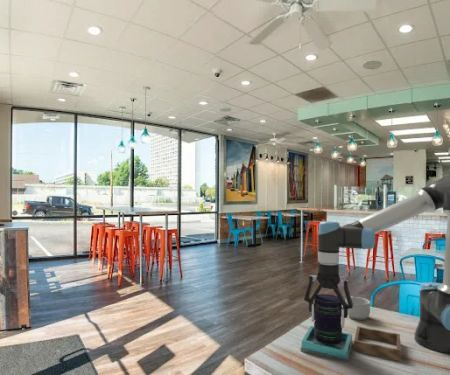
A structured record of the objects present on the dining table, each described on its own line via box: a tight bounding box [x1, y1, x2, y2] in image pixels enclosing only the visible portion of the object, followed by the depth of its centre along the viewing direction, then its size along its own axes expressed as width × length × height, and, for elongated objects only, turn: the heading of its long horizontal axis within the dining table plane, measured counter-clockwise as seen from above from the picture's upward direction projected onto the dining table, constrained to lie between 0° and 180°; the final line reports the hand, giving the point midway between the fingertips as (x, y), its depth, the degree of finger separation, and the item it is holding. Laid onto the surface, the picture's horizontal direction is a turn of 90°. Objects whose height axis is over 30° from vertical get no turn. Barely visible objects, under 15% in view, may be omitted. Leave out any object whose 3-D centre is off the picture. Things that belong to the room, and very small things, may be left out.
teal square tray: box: [300, 325, 354, 363], centre depth 116 cm, size 16×16×4 cm
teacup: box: [344, 295, 371, 321], centre depth 148 cm, size 14×11×8 cm
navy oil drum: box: [313, 293, 343, 345], centre depth 117 cm, size 10×10×15 cm
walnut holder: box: [353, 325, 402, 362], centre depth 117 cm, size 15×15×4 cm
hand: (327, 323), depth 117 cm, fingers closed on navy oil drum, 10 cm apart
